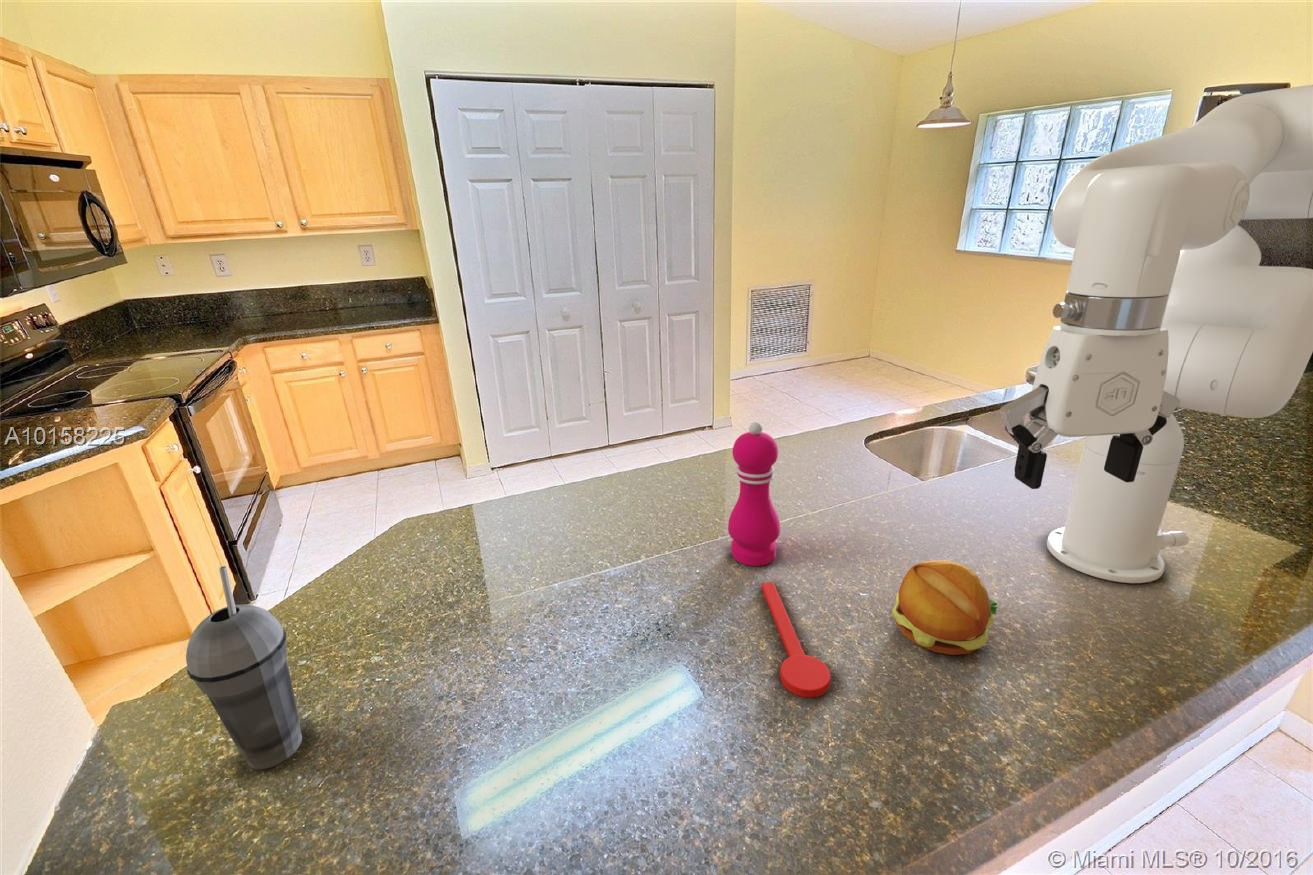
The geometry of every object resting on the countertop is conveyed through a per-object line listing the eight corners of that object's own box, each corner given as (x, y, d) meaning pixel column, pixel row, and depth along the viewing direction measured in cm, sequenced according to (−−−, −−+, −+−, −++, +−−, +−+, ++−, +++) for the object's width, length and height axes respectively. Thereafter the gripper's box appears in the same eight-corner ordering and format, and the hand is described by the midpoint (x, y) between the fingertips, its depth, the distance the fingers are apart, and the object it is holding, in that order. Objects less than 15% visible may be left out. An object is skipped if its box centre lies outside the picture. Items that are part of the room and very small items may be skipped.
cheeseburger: (989, 612, 68) (1005, 552, 62) (985, 690, 60) (1003, 630, 55) (897, 590, 72) (905, 532, 67) (883, 660, 65) (890, 601, 59)
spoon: (786, 586, 75) (786, 579, 75) (837, 695, 58) (837, 688, 57) (748, 589, 75) (748, 582, 74) (787, 700, 57) (788, 692, 57)
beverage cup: (256, 721, 58) (191, 548, 51) (331, 713, 58) (276, 542, 51) (210, 787, 51) (127, 599, 44) (295, 778, 51) (226, 591, 44)
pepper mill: (779, 570, 78) (784, 432, 71) (725, 566, 80) (725, 430, 73) (779, 542, 85) (783, 413, 78) (730, 539, 86) (730, 412, 79)
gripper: (1047, 325, 50) (1013, 502, 56) (1241, 313, 50) (1186, 490, 56) (995, 312, 57) (970, 470, 63) (1165, 302, 57) (1124, 460, 63)
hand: (1072, 480), depth 59 cm, fingers open, 9 cm apart
